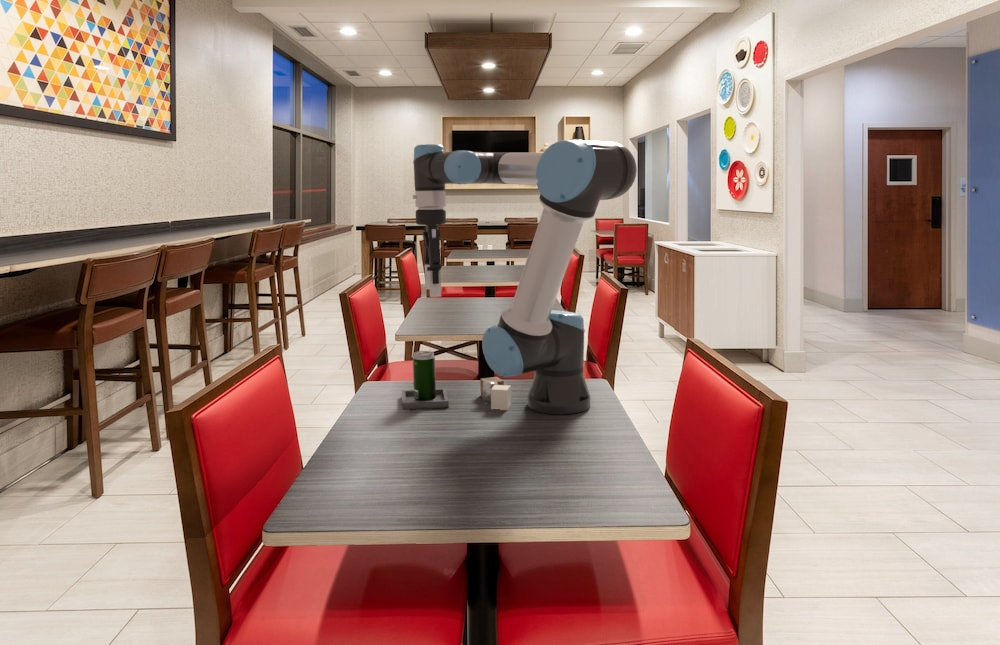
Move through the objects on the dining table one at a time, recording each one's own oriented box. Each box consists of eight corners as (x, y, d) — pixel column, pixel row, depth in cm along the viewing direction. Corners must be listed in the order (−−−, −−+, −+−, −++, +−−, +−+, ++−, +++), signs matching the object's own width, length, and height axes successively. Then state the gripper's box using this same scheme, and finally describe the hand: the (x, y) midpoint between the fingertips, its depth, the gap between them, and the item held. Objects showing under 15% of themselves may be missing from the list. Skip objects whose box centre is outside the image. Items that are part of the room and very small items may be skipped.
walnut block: (496, 393, 181) (496, 376, 180) (503, 398, 177) (503, 381, 176) (480, 395, 180) (480, 378, 179) (487, 400, 176) (487, 383, 175)
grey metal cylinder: (496, 399, 176) (496, 380, 175) (498, 404, 172) (498, 384, 171) (482, 400, 175) (482, 381, 174) (484, 404, 172) (483, 384, 171)
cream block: (510, 405, 171) (510, 385, 170) (507, 410, 167) (507, 390, 167) (494, 404, 172) (494, 384, 171) (491, 409, 168) (490, 389, 167)
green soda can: (423, 405, 171) (421, 356, 168) (409, 400, 174) (408, 353, 172) (440, 400, 174) (439, 353, 172) (426, 395, 178) (425, 349, 176)
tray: (445, 394, 181) (445, 388, 180) (448, 407, 170) (448, 400, 170) (402, 396, 179) (402, 390, 179) (402, 409, 169) (402, 403, 168)
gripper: (412, 207, 187) (414, 286, 191) (419, 210, 163) (422, 300, 167) (440, 206, 188) (442, 285, 192) (451, 209, 164) (453, 299, 168)
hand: (433, 293), depth 180 cm, fingers open, 13 cm apart
